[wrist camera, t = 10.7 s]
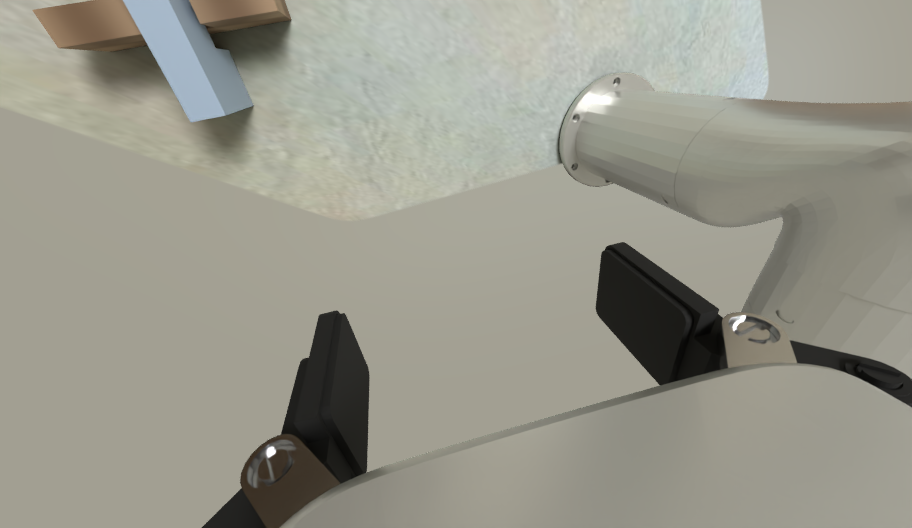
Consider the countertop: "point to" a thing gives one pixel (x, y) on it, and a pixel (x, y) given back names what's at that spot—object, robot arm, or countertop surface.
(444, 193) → the countertop surface
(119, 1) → the walnut slot plate
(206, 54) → the blue slot plate
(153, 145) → the countertop surface
